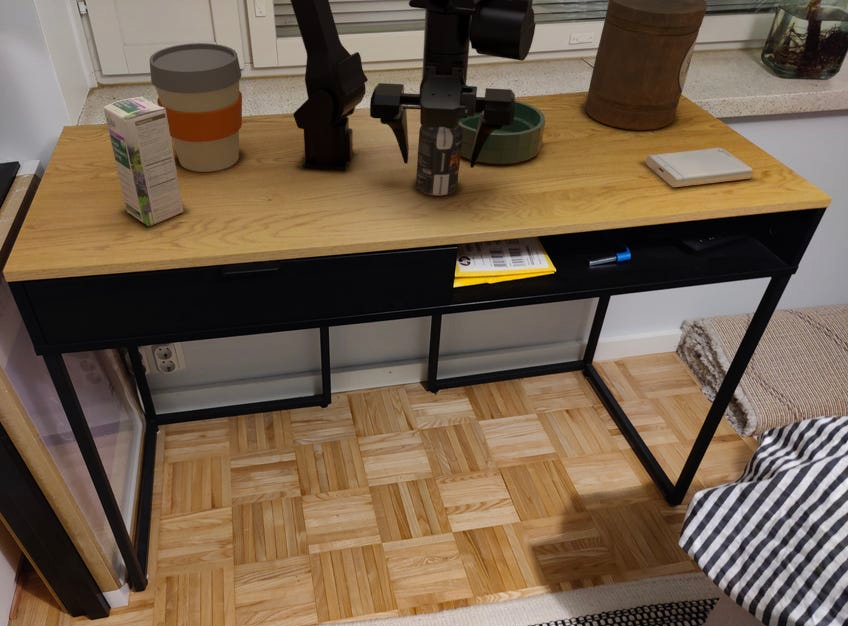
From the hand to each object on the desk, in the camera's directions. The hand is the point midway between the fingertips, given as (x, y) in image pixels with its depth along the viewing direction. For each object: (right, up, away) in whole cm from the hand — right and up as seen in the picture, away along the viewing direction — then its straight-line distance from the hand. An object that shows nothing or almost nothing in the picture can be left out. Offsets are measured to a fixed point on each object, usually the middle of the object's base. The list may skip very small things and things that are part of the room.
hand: (438, 164), depth 99 cm
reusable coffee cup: (-34, +3, +9) cm, 35 cm away
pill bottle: (0, -3, +2) cm, 4 cm away
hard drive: (+39, +1, +6) cm, 40 cm away
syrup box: (-39, -8, -3) cm, 39 cm away
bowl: (+10, +6, +13) cm, 17 cm away
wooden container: (+35, +15, +23) cm, 45 cm away
